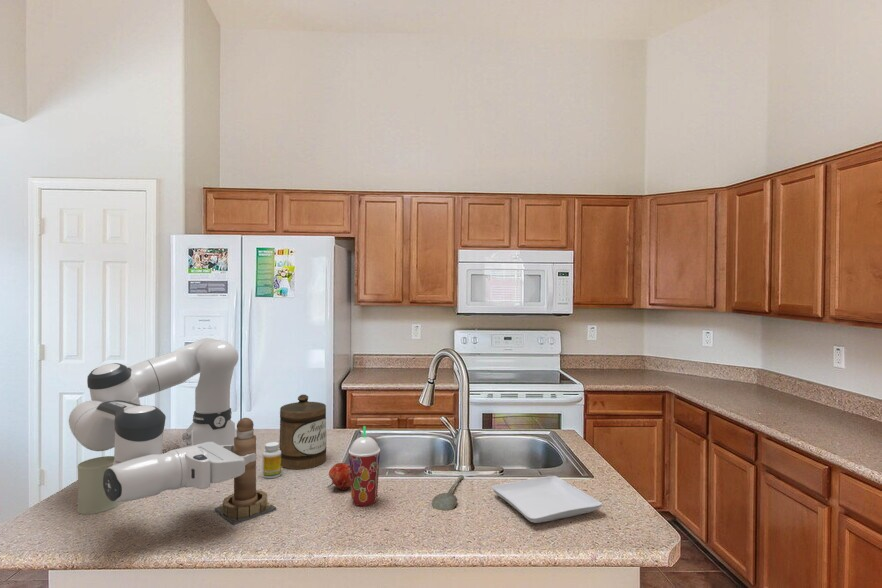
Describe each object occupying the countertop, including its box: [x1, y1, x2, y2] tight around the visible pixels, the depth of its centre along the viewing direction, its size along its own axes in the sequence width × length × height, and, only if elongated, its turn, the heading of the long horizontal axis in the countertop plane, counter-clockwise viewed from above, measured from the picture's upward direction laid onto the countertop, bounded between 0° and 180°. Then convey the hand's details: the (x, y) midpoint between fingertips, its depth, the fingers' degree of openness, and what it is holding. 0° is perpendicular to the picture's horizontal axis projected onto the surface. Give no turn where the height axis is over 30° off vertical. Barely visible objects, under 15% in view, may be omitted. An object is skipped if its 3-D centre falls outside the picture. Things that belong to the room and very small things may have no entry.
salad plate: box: [491, 475, 603, 524], centre depth 126 cm, size 21×21×3 cm
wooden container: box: [278, 394, 327, 470], centre depth 158 cm, size 15×15×22 cm
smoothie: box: [348, 425, 381, 507], centre depth 128 cm, size 8×8×20 cm
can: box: [76, 455, 121, 515], centre depth 125 cm, size 9×9×12 cm
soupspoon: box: [431, 474, 465, 512], centre depth 133 cm, size 22×3×7 cm
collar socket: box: [214, 489, 277, 526], centre depth 123 cm, size 11×11×3 cm
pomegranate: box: [327, 462, 351, 491], centre depth 137 cm, size 7×7×10 cm
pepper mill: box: [232, 417, 258, 506], centre depth 123 cm, size 6×6×23 cm
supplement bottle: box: [262, 441, 282, 479], centre depth 146 cm, size 5×5×10 cm
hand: (246, 451), depth 123 cm, fingers open, 8 cm apart
